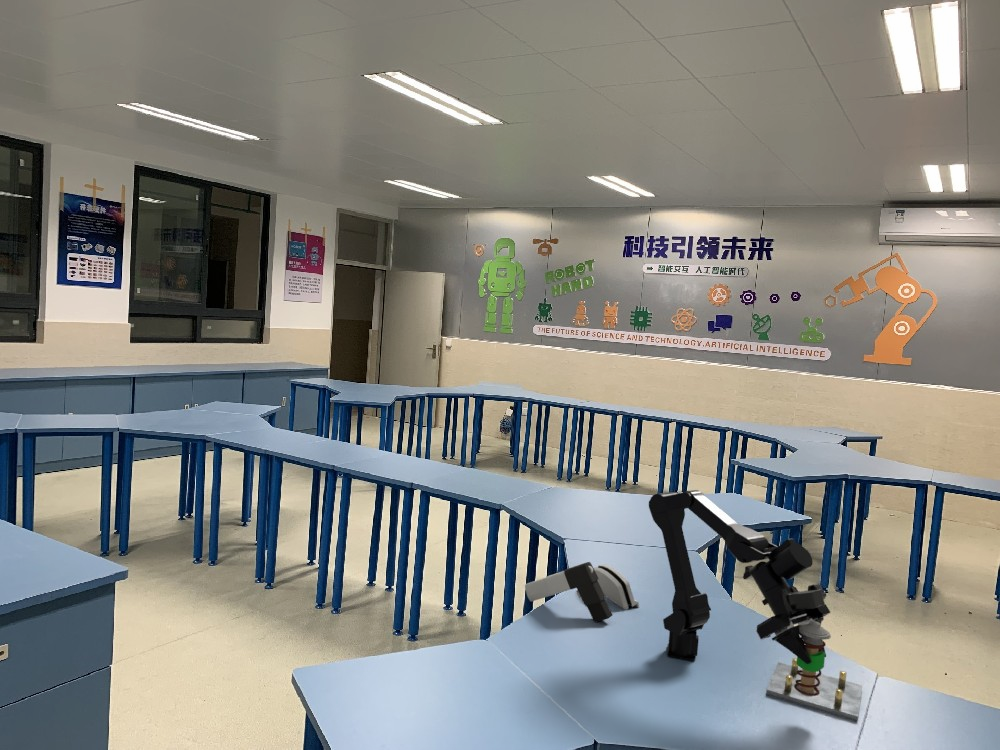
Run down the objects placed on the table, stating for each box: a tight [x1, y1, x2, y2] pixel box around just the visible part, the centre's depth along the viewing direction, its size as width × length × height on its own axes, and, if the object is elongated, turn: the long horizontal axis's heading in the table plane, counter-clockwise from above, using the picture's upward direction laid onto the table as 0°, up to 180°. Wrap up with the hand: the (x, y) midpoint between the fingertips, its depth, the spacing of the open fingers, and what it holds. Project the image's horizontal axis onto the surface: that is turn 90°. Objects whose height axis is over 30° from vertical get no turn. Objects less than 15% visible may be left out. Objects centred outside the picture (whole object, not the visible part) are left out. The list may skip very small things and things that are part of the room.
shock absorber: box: [794, 621, 832, 697], centre depth 149 cm, size 6×6×15 cm
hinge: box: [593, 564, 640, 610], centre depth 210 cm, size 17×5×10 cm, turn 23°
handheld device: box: [524, 561, 613, 623], centre depth 198 cm, size 4×22×15 cm, turn 56°
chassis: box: [765, 657, 863, 723], centre depth 162 cm, size 18×16×4 cm
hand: (817, 660), depth 148 cm, fingers closed on shock absorber, 5 cm apart
